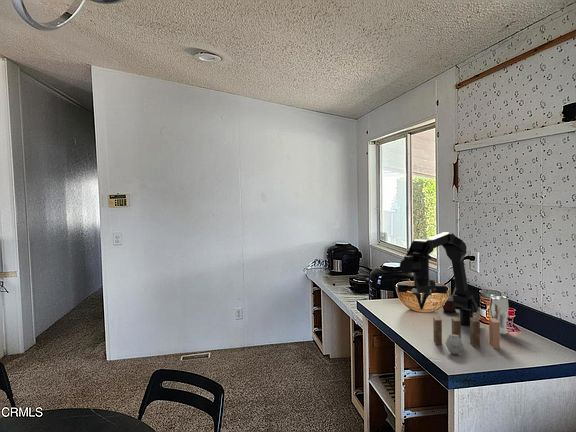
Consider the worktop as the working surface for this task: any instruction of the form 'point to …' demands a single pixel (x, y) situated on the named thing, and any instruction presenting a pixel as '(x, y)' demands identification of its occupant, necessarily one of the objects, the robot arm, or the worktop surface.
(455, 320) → the domino
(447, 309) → the mate gourd
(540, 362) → the worktop surface
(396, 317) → the worktop surface
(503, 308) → the beer glass
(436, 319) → the domino
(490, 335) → the loose domino
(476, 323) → the domino
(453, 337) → the grey faceted rock
